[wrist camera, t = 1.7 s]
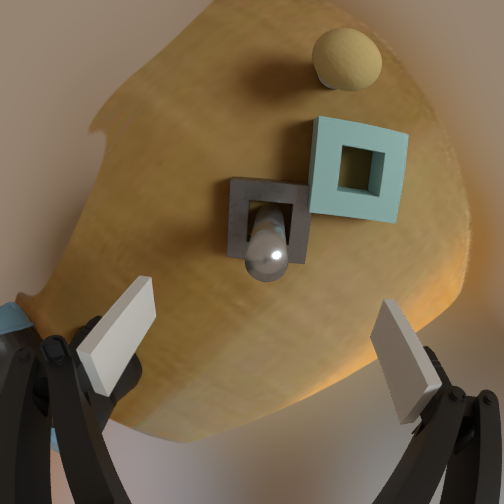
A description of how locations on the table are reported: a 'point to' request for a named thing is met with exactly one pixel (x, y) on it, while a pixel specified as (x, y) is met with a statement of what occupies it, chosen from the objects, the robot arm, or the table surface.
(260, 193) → the mount
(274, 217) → the pin
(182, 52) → the table surface
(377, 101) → the table surface
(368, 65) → the light bulb
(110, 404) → the robot arm
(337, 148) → the socket
